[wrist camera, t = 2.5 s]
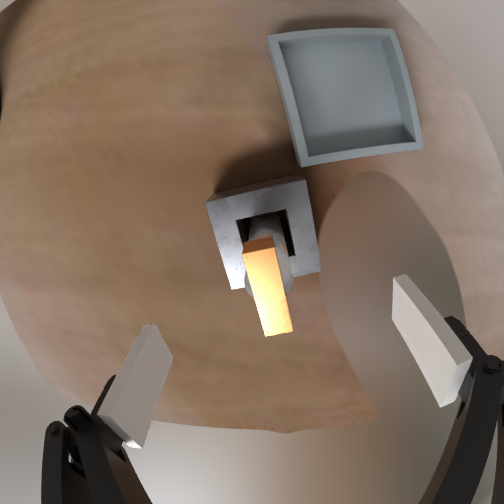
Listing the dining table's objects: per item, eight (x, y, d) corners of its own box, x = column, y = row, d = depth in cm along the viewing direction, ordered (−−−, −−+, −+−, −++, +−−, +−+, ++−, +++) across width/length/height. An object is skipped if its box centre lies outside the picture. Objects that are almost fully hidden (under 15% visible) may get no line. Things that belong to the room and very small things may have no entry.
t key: (243, 200, 28) (229, 256, 15) (274, 194, 28) (286, 244, 15) (257, 253, 30) (255, 337, 18) (286, 247, 30) (303, 329, 17)
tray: (266, 45, 21) (266, 35, 19) (382, 37, 20) (394, 29, 17) (297, 164, 26) (301, 167, 24) (409, 147, 25) (423, 149, 22)
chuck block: (212, 193, 28) (205, 202, 24) (299, 173, 27) (305, 179, 23) (235, 271, 31) (231, 289, 28) (314, 254, 30) (321, 270, 26)
